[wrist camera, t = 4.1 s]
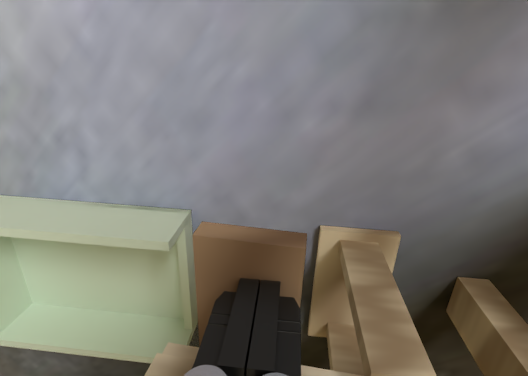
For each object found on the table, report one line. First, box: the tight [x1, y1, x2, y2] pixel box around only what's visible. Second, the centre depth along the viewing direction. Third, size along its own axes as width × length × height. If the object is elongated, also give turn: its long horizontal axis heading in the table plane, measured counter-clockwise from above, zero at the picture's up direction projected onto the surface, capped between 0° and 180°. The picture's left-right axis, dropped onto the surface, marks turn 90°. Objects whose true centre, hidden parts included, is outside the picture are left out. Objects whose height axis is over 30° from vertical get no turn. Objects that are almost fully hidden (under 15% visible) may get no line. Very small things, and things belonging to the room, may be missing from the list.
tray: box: [0, 195, 198, 363], centre depth 21 cm, size 10×14×6 cm
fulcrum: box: [308, 225, 528, 376], centre depth 17 cm, size 12×9×10 cm
